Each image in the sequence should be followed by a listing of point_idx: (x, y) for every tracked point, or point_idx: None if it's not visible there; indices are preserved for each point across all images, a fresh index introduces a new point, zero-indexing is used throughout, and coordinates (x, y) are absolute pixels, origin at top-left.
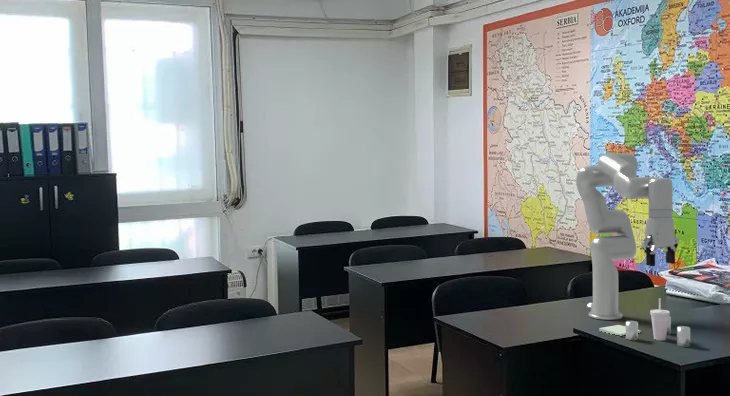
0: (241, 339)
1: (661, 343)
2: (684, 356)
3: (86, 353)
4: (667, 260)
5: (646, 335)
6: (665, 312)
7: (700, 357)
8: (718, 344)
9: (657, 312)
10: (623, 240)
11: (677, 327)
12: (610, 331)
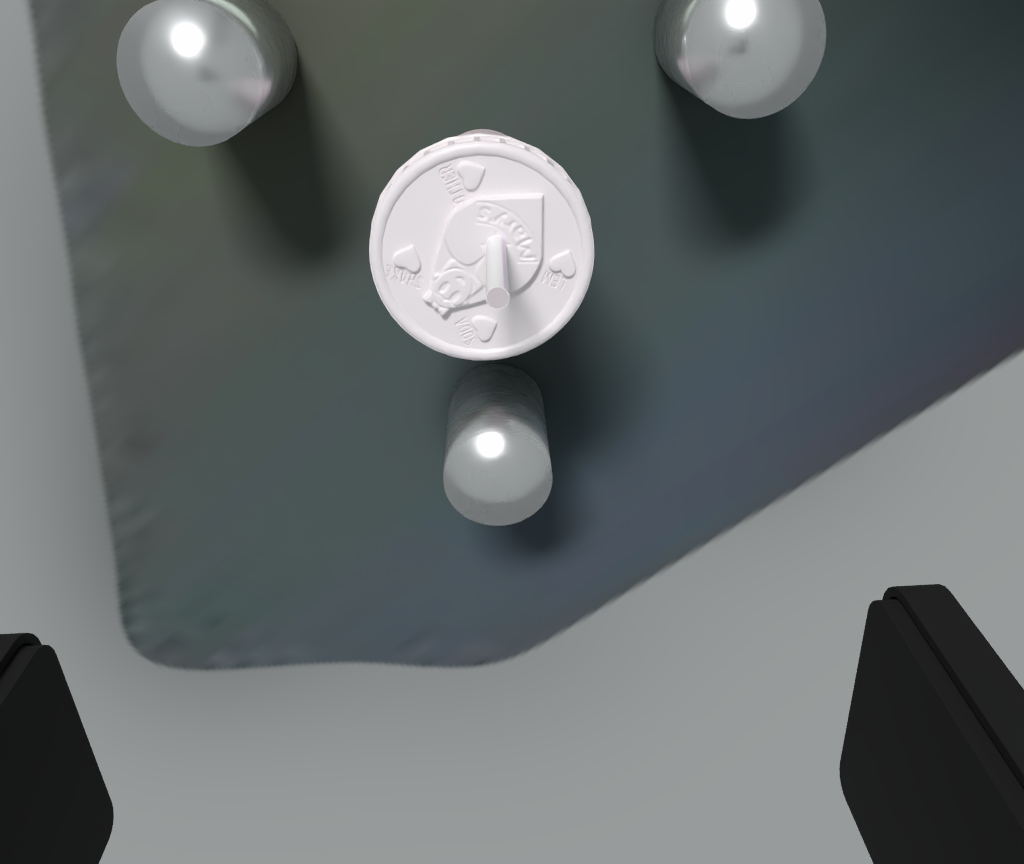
0: None
1: None
2: (283, 580)
3: None
4: (892, 683)
5: (479, 8)
6: (487, 334)
7: (359, 630)
8: (734, 495)
9: (421, 276)
10: None
11: (450, 457)
12: None
